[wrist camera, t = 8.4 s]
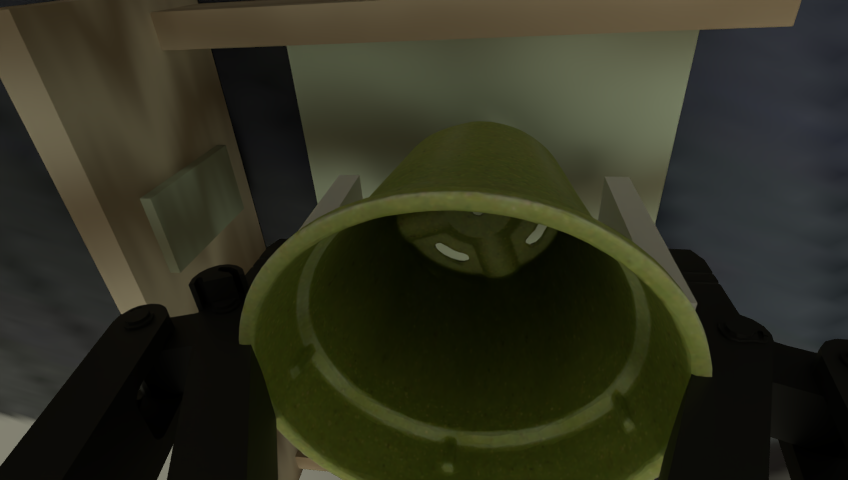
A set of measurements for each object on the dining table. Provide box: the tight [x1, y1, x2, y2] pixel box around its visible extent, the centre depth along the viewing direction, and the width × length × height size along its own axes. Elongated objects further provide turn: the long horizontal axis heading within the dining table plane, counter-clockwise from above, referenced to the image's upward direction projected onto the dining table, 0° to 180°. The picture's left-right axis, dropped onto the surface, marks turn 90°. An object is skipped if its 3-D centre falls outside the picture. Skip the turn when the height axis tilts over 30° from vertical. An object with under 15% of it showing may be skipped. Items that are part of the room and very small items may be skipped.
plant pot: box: [239, 121, 712, 480], centre depth 13 cm, size 9×9×9 cm
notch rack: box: [0, 0, 801, 480], centre depth 20 cm, size 27×21×8 cm
